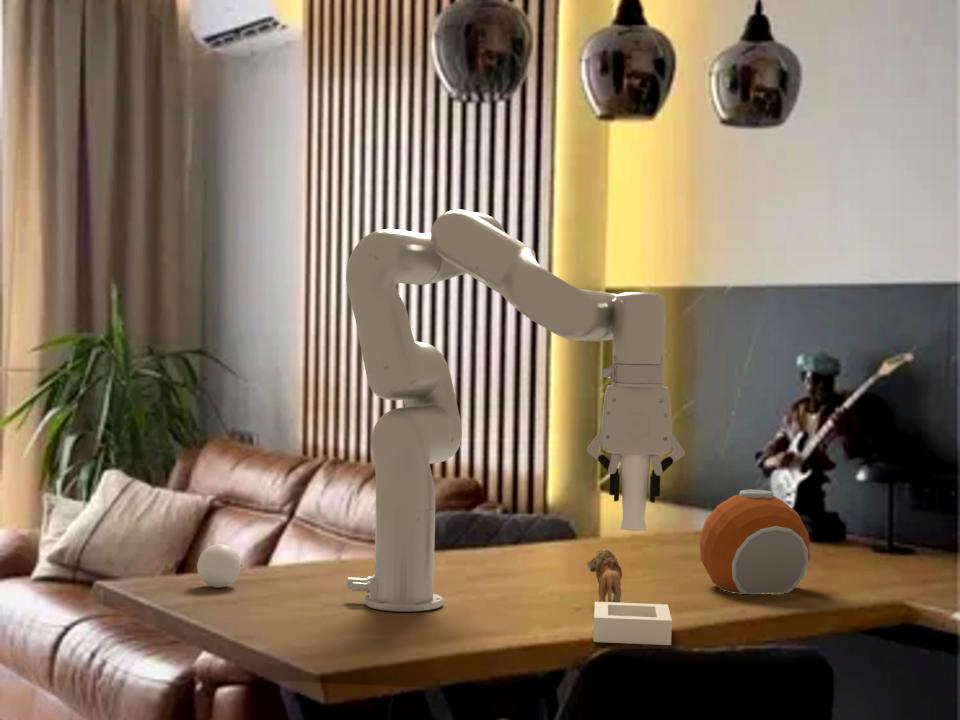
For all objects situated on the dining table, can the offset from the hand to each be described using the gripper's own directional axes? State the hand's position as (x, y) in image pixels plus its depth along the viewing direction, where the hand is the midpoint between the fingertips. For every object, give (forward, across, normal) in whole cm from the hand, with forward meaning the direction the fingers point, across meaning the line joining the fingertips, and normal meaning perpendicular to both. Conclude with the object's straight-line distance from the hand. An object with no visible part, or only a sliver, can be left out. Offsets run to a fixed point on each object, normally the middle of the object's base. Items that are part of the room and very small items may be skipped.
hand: (634, 499), depth 204 cm
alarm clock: (+20, +22, +42) cm, 52 cm away
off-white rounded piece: (+20, -69, +25) cm, 76 cm away
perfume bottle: (+5, 0, 0) cm, 5 cm away
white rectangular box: (+20, 0, 0) cm, 20 cm away
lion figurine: (+20, -4, +18) cm, 27 cm away
